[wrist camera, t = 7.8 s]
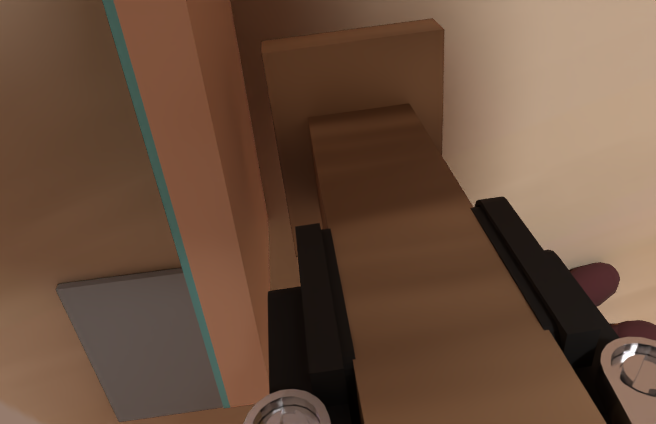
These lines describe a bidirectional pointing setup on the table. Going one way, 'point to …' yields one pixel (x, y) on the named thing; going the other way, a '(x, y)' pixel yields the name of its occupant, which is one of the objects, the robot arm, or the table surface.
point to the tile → (204, 173)
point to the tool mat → (143, 343)
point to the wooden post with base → (408, 236)
